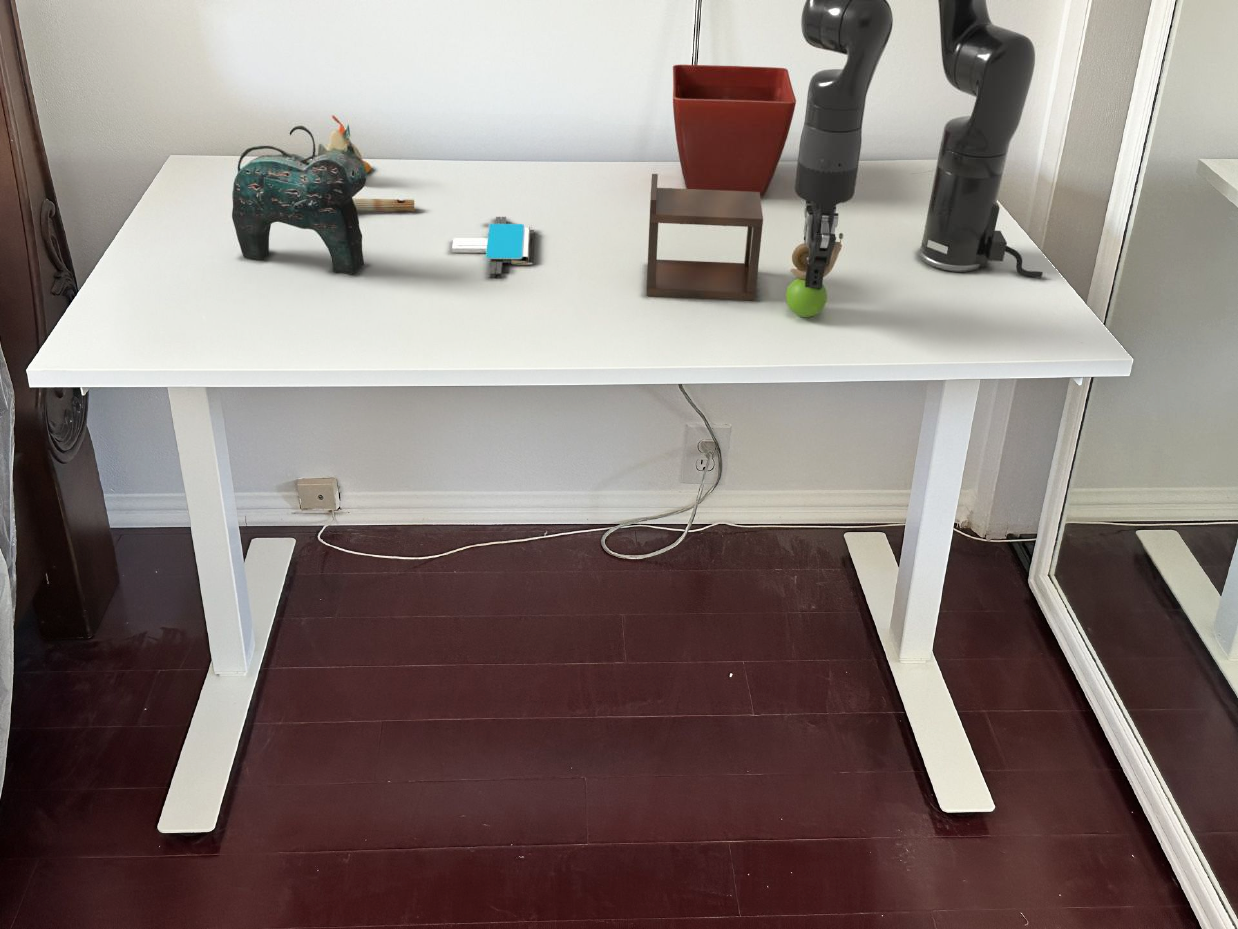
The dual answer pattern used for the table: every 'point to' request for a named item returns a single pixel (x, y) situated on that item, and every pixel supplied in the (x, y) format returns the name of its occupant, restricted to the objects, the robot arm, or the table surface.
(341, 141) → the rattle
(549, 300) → the table surface
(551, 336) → the table surface
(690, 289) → the box
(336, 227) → the ceramic cat
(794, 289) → the snail figurine
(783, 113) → the flower pot
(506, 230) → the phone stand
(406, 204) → the ribbed wooden cylinder
